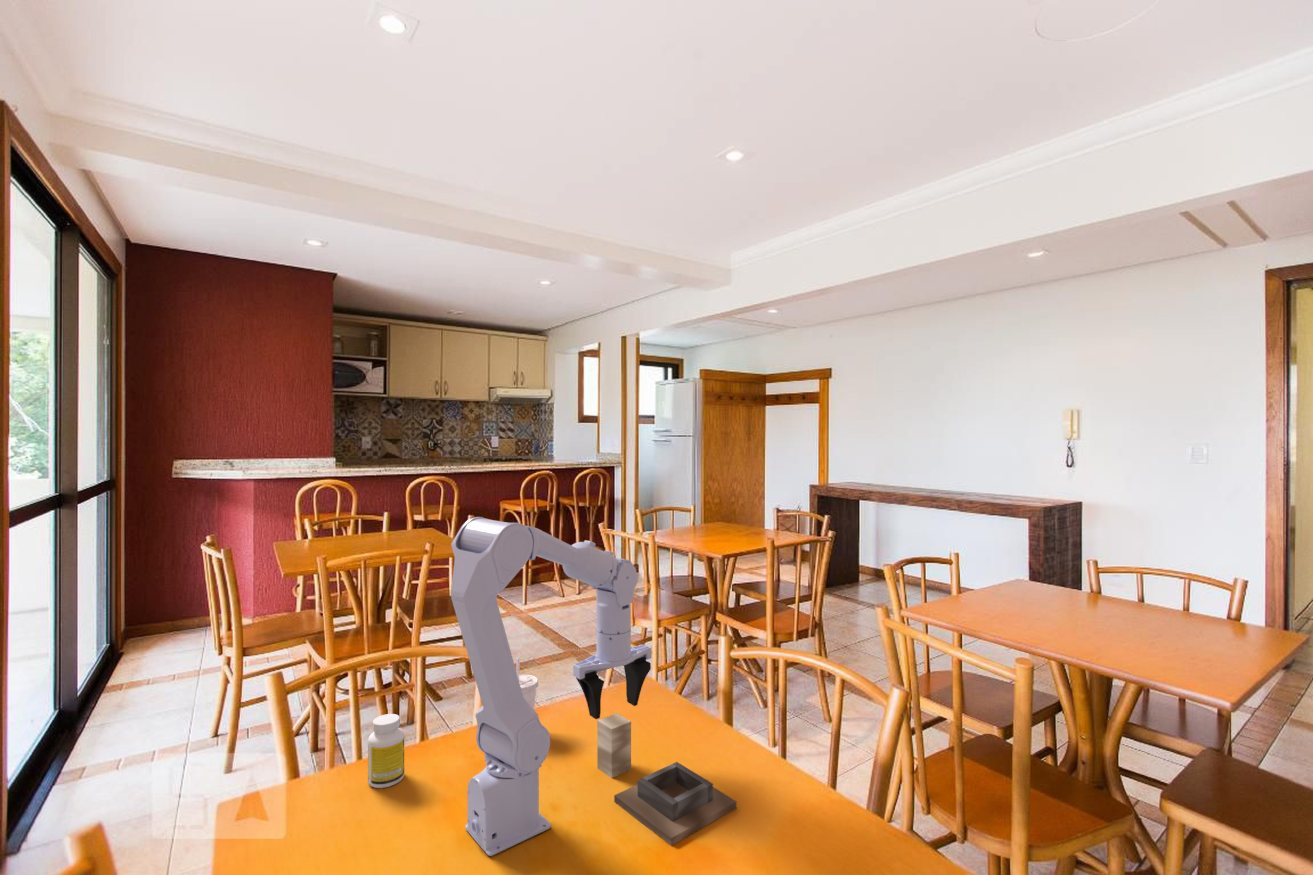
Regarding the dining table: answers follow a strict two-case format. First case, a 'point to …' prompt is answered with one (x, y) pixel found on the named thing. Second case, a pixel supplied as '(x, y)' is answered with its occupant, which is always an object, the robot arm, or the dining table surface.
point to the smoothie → (527, 685)
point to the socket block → (675, 802)
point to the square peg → (614, 745)
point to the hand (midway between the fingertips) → (613, 709)
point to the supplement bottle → (386, 752)
